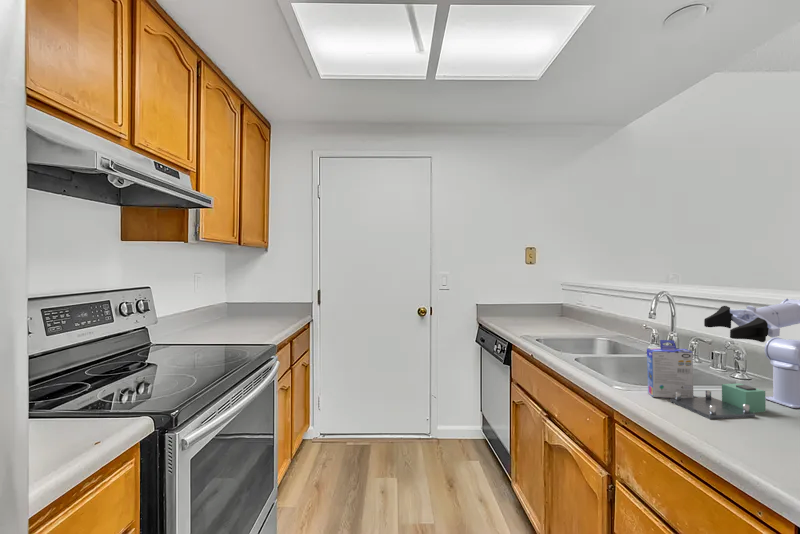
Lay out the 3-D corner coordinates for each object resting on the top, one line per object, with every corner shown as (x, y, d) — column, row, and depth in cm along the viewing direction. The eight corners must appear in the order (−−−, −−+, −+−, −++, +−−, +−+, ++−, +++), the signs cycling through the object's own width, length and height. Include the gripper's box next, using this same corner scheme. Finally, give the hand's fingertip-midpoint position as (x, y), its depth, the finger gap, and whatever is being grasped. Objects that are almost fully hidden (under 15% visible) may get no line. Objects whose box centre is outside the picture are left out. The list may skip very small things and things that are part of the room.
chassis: (710, 399, 116) (710, 389, 116) (755, 417, 103) (755, 405, 103) (670, 401, 115) (670, 391, 115) (710, 419, 102) (710, 407, 102)
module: (740, 403, 114) (740, 381, 114) (765, 412, 107) (765, 389, 107) (722, 404, 113) (721, 382, 113) (745, 413, 106) (745, 390, 106)
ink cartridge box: (686, 393, 122) (685, 339, 122) (695, 399, 117) (694, 343, 117) (646, 392, 124) (645, 339, 124) (653, 397, 119) (652, 342, 119)
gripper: (742, 294, 118) (695, 303, 117) (798, 312, 104) (744, 323, 103) (741, 319, 120) (694, 329, 118) (795, 340, 106) (743, 351, 104)
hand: (717, 328), depth 111 cm, fingers open, 7 cm apart
